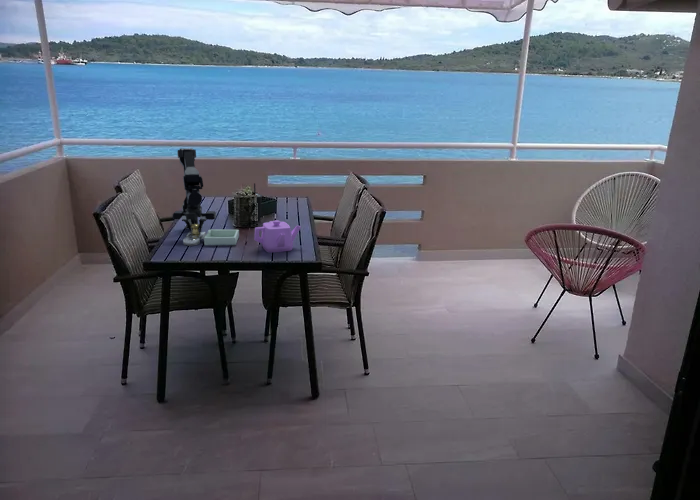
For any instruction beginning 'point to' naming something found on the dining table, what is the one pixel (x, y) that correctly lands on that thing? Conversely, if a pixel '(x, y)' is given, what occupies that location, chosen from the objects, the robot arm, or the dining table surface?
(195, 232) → the pin
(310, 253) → the dining table surface
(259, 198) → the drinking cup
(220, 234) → the parts tray
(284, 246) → the teakettle
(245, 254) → the dining table surface
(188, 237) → the tensioner bracket
